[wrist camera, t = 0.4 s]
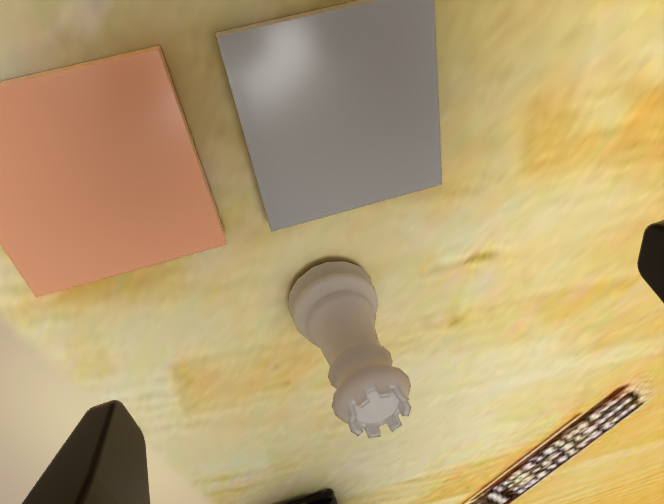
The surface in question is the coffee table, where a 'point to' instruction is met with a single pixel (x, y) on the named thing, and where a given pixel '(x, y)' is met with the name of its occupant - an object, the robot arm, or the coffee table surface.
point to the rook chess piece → (350, 345)
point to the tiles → (179, 151)
